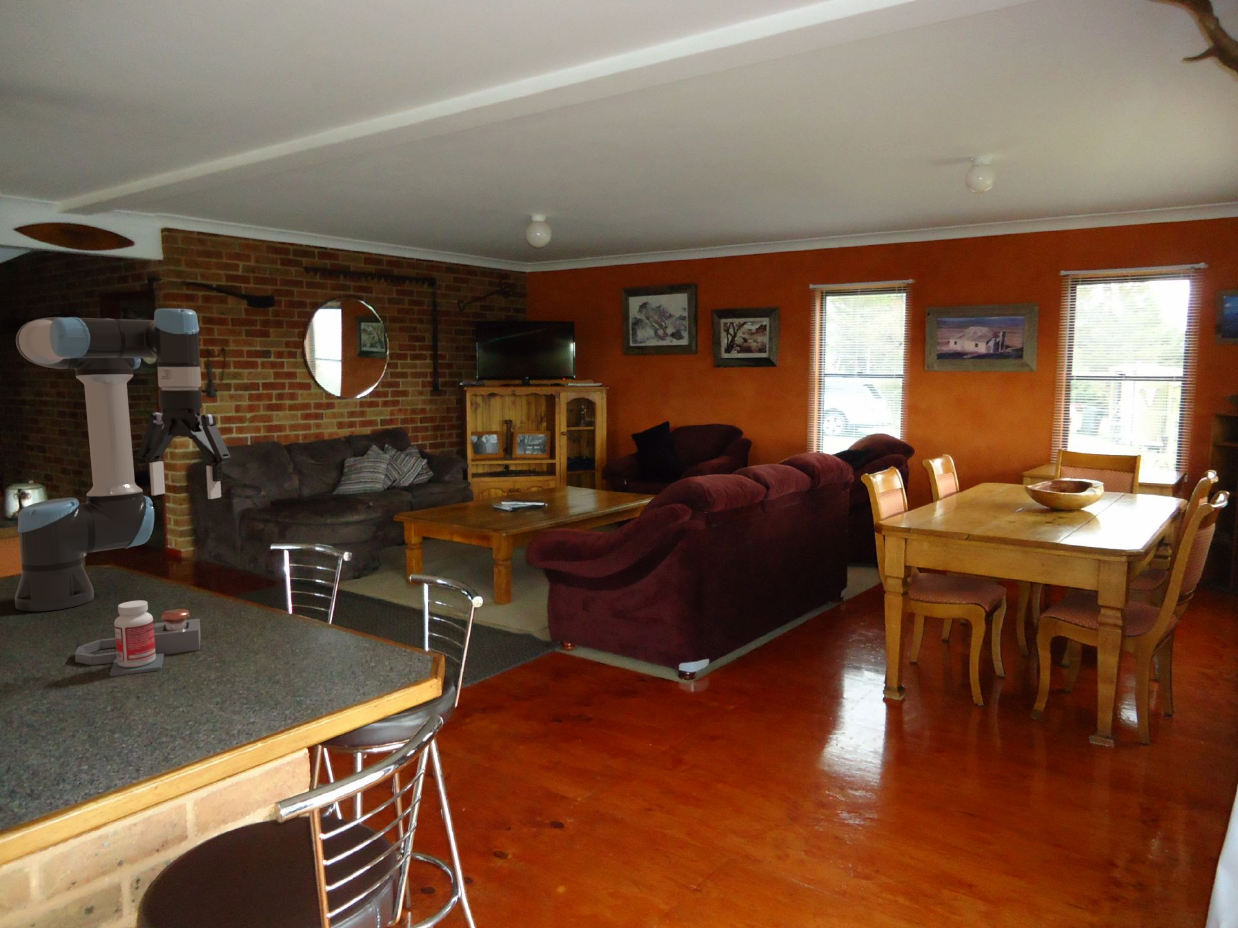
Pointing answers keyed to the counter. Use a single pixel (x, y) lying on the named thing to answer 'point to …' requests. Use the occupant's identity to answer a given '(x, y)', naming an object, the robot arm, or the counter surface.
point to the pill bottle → (134, 635)
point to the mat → (149, 667)
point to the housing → (163, 643)
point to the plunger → (175, 619)
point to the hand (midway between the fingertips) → (186, 496)
